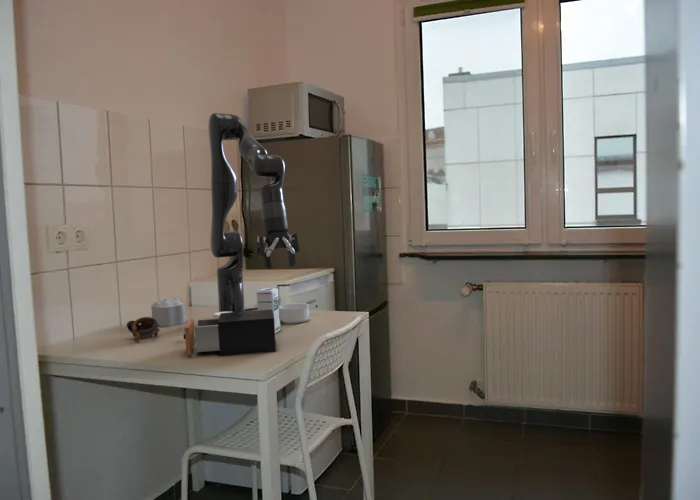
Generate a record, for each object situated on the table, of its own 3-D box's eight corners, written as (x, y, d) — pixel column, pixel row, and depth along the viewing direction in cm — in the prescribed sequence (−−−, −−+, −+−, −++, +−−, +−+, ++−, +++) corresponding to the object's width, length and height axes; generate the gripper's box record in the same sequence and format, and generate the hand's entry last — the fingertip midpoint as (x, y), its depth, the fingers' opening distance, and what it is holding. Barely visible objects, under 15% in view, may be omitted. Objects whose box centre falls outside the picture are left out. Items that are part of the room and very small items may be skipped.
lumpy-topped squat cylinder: (162, 327, 200) (160, 303, 200) (146, 323, 210) (145, 300, 209) (188, 322, 207) (187, 299, 207) (172, 318, 217) (171, 296, 216)
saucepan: (328, 314, 212) (327, 300, 211) (298, 325, 195) (297, 309, 194) (303, 312, 218) (302, 298, 217) (271, 323, 200) (271, 307, 200)
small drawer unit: (219, 356, 158) (217, 322, 158) (222, 344, 172) (220, 313, 171) (275, 351, 161) (274, 318, 160) (273, 340, 175) (272, 309, 174)
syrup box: (275, 334, 183) (273, 290, 182) (258, 334, 184) (256, 290, 183) (280, 330, 188) (278, 287, 187) (264, 330, 190) (262, 287, 188)
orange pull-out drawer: (182, 355, 157) (180, 327, 156) (187, 344, 169) (185, 319, 169) (239, 350, 160) (237, 323, 159) (239, 340, 172) (238, 315, 171)
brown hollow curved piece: (167, 336, 188) (165, 318, 183) (151, 355, 180) (148, 336, 176) (135, 327, 190) (132, 308, 185) (118, 345, 182) (115, 326, 178)
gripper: (287, 217, 185) (293, 266, 184) (249, 219, 176) (255, 270, 175) (299, 214, 179) (305, 264, 178) (260, 216, 170) (267, 269, 170)
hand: (280, 267), depth 177 cm, fingers open, 8 cm apart
